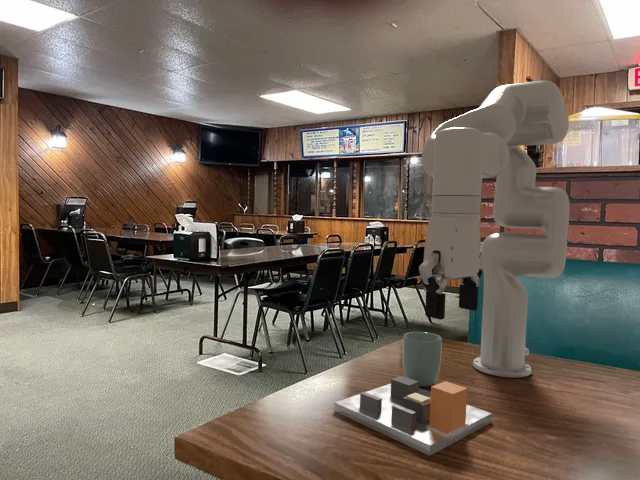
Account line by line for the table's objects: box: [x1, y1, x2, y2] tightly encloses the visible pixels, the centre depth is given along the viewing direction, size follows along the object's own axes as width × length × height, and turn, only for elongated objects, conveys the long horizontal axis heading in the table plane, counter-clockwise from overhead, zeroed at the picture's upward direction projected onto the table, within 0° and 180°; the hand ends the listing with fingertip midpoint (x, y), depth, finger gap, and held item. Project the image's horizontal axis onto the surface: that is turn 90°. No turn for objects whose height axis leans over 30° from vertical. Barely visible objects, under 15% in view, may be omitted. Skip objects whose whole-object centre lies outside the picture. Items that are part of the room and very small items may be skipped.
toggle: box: [390, 375, 420, 400], centre depth 88 cm, size 3×4×3 cm
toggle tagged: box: [403, 393, 431, 424], centre depth 79 cm, size 3×4×3 cm
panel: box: [334, 383, 493, 456], centre depth 83 cm, size 18×20×4 cm
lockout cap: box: [430, 381, 468, 432], centre depth 76 cm, size 4×4×6 cm
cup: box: [402, 331, 443, 388], centre depth 100 cm, size 8×8×10 cm
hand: (452, 313), depth 78 cm, fingers open, 9 cm apart
